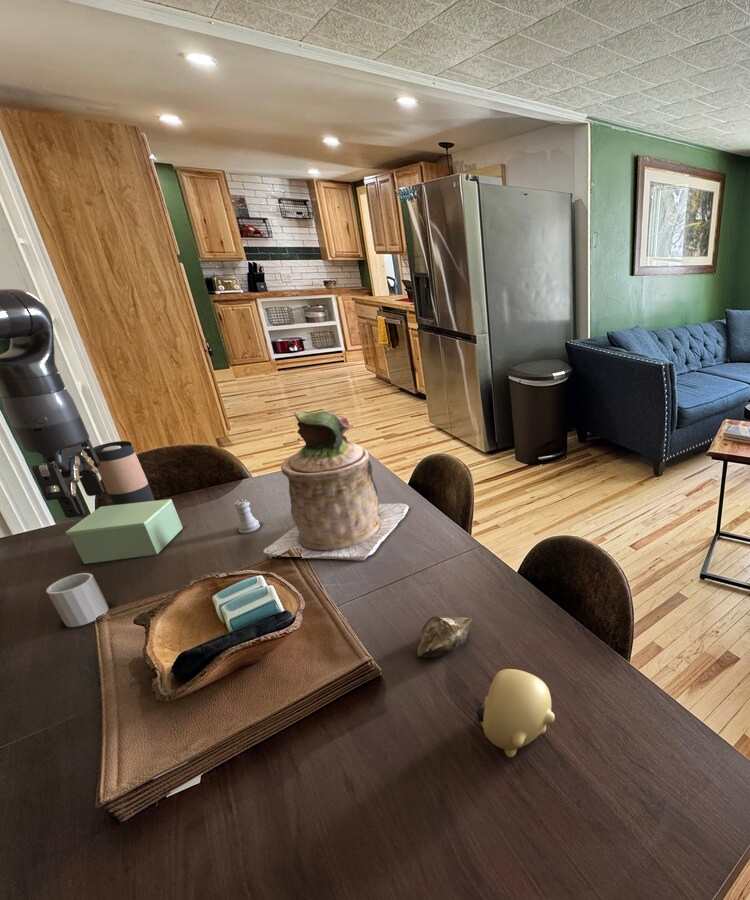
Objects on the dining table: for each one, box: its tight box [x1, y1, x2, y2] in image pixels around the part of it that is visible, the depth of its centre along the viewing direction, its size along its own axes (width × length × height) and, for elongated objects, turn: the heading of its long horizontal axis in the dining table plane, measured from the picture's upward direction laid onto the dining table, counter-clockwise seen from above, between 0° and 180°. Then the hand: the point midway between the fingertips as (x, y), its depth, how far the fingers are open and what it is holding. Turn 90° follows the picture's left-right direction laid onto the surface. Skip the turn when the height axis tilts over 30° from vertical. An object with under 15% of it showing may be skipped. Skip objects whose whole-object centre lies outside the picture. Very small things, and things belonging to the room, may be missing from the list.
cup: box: [45, 572, 110, 628], centre depth 89 cm, size 6×6×8 cm
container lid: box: [65, 498, 173, 536], centre depth 109 cm, size 14×12×1 cm
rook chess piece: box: [233, 498, 261, 534], centre depth 117 cm, size 4×4×8 cm
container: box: [69, 501, 184, 565], centre depth 110 cm, size 14×12×8 cm
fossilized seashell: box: [416, 616, 473, 659], centre depth 83 cm, size 8×7×10 cm
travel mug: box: [93, 440, 156, 505], centre depth 120 cm, size 8×8×20 cm
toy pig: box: [476, 668, 556, 758], centre depth 67 cm, size 10×12×11 cm
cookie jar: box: [263, 410, 410, 562], centre depth 111 cm, size 25×25×32 cm
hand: (86, 504), depth 84 cm, fingers open, 8 cm apart
